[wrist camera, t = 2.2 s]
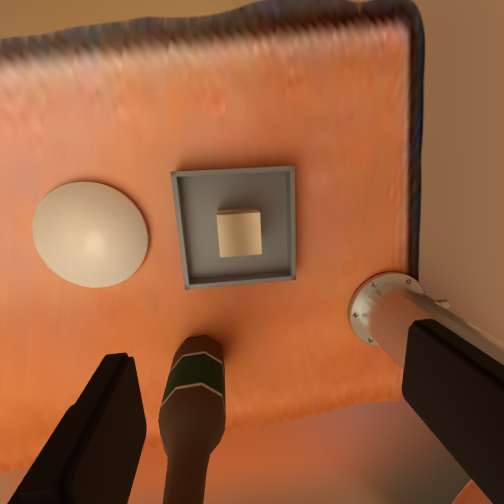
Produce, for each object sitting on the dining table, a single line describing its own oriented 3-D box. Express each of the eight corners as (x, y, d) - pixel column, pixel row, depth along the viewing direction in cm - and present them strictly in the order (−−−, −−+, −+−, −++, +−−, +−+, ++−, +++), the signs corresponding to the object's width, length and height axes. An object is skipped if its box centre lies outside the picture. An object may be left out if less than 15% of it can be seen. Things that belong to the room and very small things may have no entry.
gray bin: (289, 166, 38) (294, 165, 35) (290, 272, 42) (296, 279, 39) (174, 172, 36) (170, 171, 33) (187, 281, 40) (184, 289, 37)
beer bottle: (230, 338, 43) (242, 520, 20) (218, 380, 45) (215, 592, 22) (180, 328, 42) (132, 512, 19) (169, 372, 44) (113, 588, 21)
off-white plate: (140, 178, 36) (138, 178, 35) (155, 280, 40) (154, 282, 39) (24, 184, 35) (19, 184, 34) (51, 289, 38) (47, 291, 37)
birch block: (254, 207, 38) (260, 212, 32) (255, 243, 39) (261, 254, 34) (217, 209, 38) (216, 215, 32) (220, 245, 39) (220, 257, 33)
